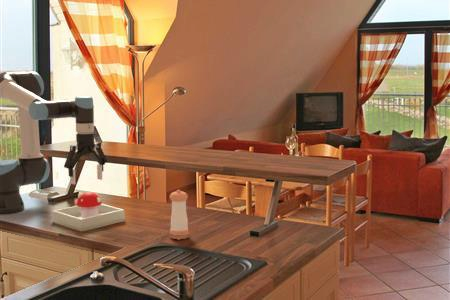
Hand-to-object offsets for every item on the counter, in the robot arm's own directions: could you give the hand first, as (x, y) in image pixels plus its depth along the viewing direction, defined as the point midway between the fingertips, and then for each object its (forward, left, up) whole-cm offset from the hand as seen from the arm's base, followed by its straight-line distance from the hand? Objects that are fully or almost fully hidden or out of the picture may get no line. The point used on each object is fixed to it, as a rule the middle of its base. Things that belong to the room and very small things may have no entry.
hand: (86, 181), depth 250 cm
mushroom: (0, +1, -17) cm, 17 cm away
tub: (0, 0, -18) cm, 18 cm away
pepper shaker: (+48, +10, -18) cm, 52 cm away
